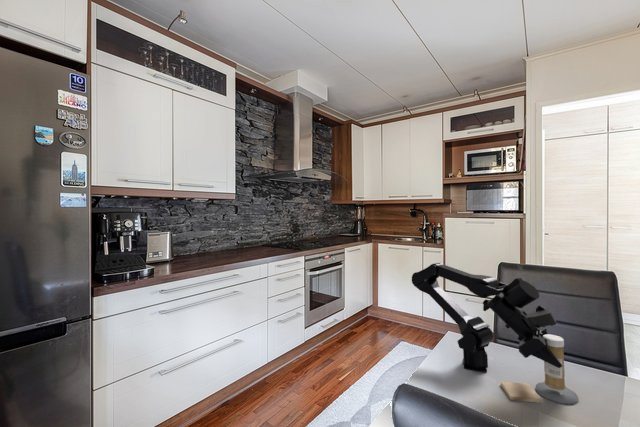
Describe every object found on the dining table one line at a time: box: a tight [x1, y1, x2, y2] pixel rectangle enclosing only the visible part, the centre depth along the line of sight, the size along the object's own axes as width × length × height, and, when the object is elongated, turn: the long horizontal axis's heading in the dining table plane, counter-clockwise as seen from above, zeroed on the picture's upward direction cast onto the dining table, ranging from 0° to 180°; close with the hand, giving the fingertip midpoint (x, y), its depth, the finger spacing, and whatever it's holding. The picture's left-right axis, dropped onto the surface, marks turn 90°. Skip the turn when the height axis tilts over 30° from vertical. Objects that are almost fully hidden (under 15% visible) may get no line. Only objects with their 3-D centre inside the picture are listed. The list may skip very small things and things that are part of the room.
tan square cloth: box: [500, 381, 542, 404], centre depth 80 cm, size 7×7×1 cm
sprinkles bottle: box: [543, 333, 567, 390], centre depth 79 cm, size 5×5×13 cm
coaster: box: [535, 381, 579, 405], centre depth 79 cm, size 9×9×1 cm
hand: (560, 363), depth 79 cm, fingers closed on sprinkles bottle, 4 cm apart
